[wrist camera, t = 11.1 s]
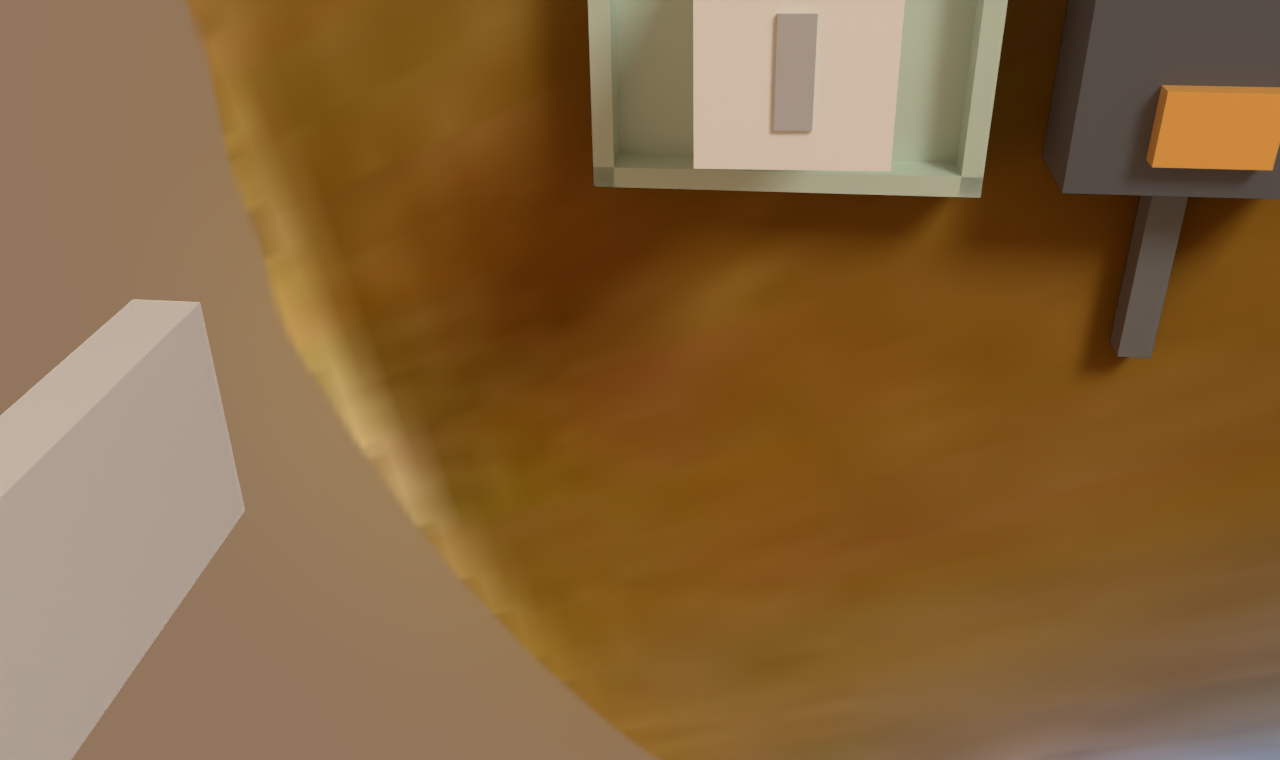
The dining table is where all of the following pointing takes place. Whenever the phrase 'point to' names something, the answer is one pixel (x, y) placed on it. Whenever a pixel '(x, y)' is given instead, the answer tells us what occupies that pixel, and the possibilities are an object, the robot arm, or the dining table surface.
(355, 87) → the dining table surface
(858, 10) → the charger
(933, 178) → the dish
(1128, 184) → the power strip
